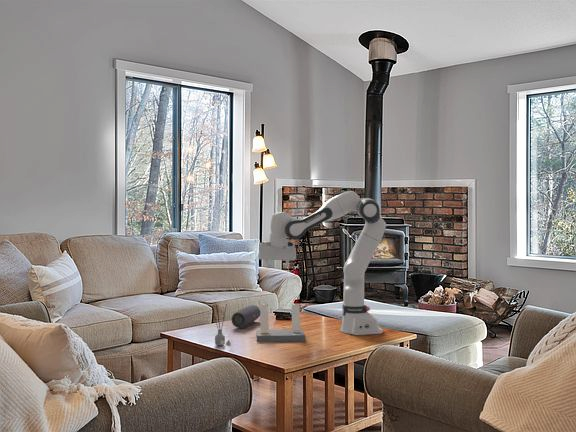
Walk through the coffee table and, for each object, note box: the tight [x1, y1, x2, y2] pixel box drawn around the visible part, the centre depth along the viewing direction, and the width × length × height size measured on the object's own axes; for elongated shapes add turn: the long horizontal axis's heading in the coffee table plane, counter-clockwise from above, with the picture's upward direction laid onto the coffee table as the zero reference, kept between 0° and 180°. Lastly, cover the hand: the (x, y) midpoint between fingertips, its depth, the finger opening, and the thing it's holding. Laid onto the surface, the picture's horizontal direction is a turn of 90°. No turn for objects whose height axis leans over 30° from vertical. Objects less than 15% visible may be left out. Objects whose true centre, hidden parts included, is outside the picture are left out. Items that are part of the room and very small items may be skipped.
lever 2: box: [291, 303, 301, 331], centre depth 310 cm, size 4×2×14 cm, turn 94°
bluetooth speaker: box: [231, 304, 261, 328], centre depth 337 cm, size 23×9×10 cm, turn 162°
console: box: [255, 329, 306, 343], centre depth 307 cm, size 24×12×3 cm, turn 94°
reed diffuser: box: [211, 304, 231, 346], centre depth 294 cm, size 10×7×20 cm
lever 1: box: [259, 303, 270, 332], centre depth 309 cm, size 4×2×14 cm, turn 94°
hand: (276, 268), depth 323 cm, fingers open, 8 cm apart
